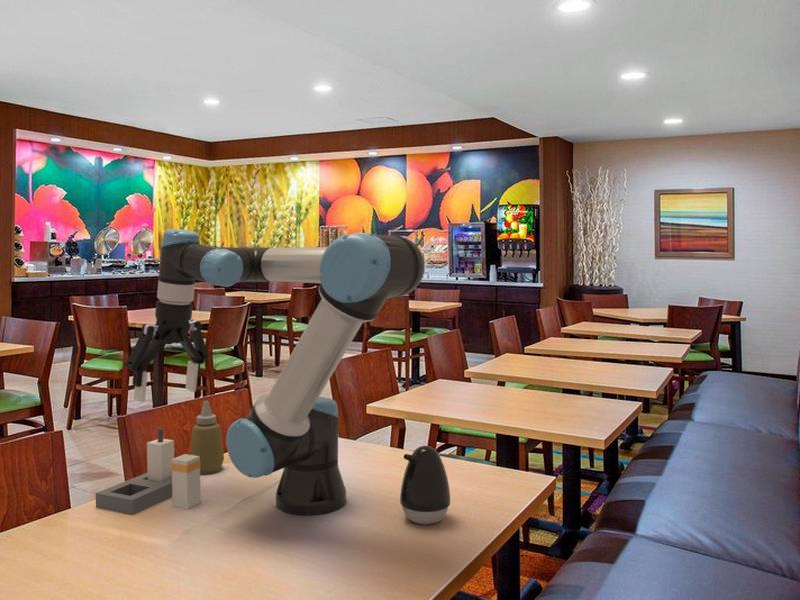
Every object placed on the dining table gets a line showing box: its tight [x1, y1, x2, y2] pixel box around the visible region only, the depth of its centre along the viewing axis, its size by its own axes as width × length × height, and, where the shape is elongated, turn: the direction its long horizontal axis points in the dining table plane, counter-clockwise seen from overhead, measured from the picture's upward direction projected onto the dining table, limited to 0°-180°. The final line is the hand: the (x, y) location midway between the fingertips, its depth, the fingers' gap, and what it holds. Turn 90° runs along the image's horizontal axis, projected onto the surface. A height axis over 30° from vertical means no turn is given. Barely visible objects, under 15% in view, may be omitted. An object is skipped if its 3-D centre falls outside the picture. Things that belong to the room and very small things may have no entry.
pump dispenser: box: [399, 445, 451, 525], centre depth 136 cm, size 10×10×15 cm
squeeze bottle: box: [189, 400, 225, 475], centre depth 164 cm, size 8×8×18 cm
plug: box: [171, 453, 201, 510], centre depth 142 cm, size 4×4×11 cm
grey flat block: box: [95, 471, 172, 516], centre depth 146 cm, size 10×18×4 cm, turn 157°
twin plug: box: [146, 427, 175, 482], centre depth 150 cm, size 4×4×14 cm
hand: (165, 395), depth 149 cm, fingers open, 13 cm apart
